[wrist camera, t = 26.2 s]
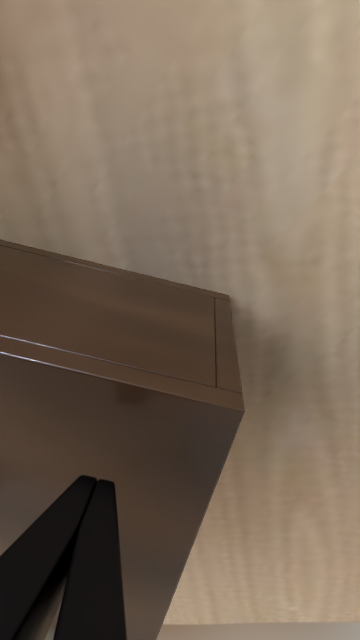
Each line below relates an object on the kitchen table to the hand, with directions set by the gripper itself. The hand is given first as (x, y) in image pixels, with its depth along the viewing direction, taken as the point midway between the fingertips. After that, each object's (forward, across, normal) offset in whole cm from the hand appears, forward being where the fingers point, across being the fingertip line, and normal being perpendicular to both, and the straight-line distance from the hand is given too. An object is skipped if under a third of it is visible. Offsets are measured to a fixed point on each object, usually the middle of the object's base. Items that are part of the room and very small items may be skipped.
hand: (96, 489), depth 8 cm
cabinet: (+11, +4, +5) cm, 13 cm away
